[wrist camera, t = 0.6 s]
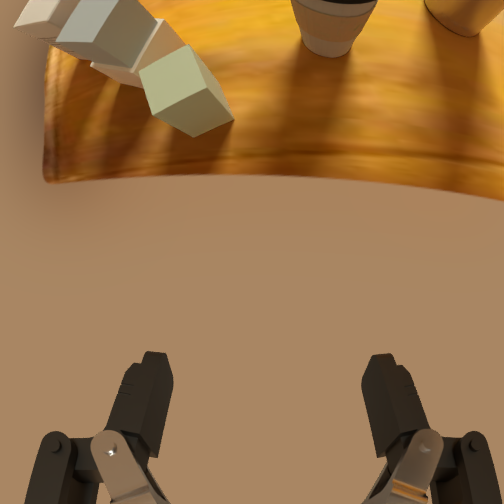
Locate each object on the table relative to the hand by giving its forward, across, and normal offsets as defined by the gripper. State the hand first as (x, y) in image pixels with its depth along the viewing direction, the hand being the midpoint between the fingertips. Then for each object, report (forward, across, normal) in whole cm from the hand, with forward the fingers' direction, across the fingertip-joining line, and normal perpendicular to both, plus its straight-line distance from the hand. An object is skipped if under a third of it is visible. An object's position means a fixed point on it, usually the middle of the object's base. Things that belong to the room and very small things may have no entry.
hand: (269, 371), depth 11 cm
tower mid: (+24, +15, -17) cm, 33 cm away
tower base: (+31, +14, -15) cm, 37 cm away
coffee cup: (+29, -7, -17) cm, 34 cm away
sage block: (+27, +6, -8) cm, 29 cm away
